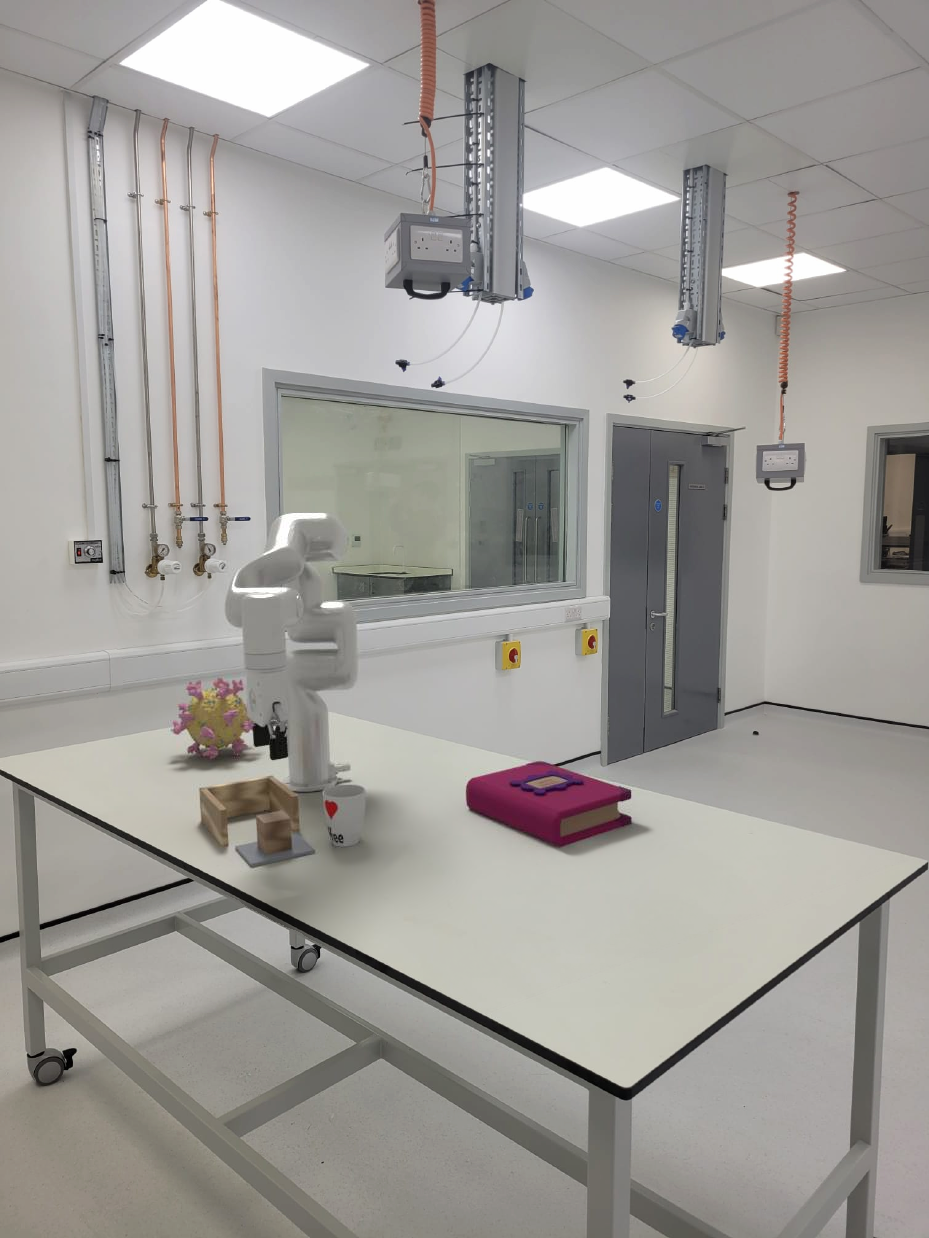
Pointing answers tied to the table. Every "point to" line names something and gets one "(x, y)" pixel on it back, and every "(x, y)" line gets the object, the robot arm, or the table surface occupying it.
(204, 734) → the educational model
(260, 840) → the block
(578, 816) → the book
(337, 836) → the cup
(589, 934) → the table surface
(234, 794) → the oak u-shaped frame
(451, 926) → the table surface
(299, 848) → the mat
